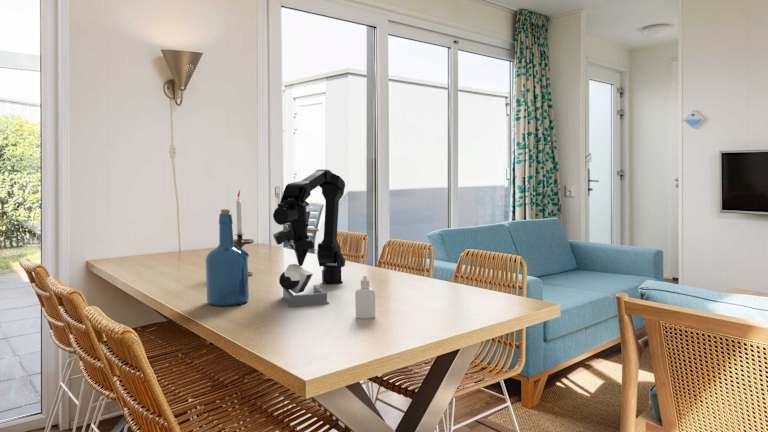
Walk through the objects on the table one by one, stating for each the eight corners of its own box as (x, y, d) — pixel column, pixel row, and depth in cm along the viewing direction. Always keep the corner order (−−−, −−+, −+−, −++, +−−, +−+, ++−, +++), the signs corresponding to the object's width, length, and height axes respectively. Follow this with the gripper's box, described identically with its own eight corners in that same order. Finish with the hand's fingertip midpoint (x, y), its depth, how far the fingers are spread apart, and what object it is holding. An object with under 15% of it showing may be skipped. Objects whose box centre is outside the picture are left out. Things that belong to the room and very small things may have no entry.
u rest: (281, 298, 184) (281, 287, 184) (318, 294, 188) (318, 284, 188) (288, 307, 171) (288, 296, 170) (328, 303, 175) (328, 293, 175)
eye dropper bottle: (361, 314, 161) (360, 273, 160) (377, 316, 158) (377, 274, 157) (353, 317, 157) (352, 276, 156) (370, 320, 154) (369, 277, 154)
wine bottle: (211, 309, 170) (207, 211, 168) (203, 300, 182) (200, 209, 180) (255, 303, 176) (252, 209, 174) (245, 296, 188) (242, 207, 186)
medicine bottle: (303, 292, 189) (291, 295, 177) (285, 281, 190) (272, 284, 178) (313, 273, 188) (302, 276, 176) (295, 263, 189) (283, 265, 178)
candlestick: (260, 274, 228) (257, 189, 226) (240, 279, 219) (237, 190, 217) (241, 272, 234) (238, 189, 232) (221, 276, 225) (218, 190, 223)
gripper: (270, 219, 194) (272, 263, 196) (278, 226, 176) (281, 274, 178) (301, 216, 197) (304, 259, 199) (313, 223, 180) (315, 270, 182)
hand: (300, 265), depth 189 cm, fingers closed, pressing on medicine bottle
